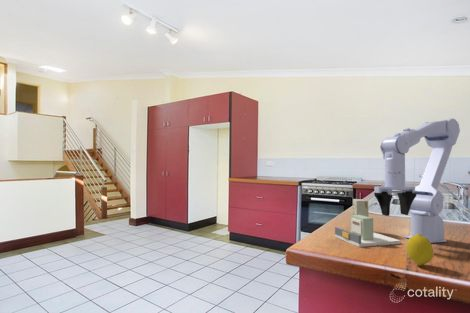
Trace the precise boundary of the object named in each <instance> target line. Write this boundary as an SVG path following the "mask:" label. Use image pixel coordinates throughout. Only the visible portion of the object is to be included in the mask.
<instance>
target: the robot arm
mask: <svg viewBox="0 0 470 313" xmlns="http://www.w3.org/2000/svg"><path fill="white" fill-rule="evenodd" d="M402 130H403V131H401V132H397V133H394V135H393V136H390V137H389V136H388V137H385V138H384V139H383V140H382V141H381V144H380V145H379V146H380V151H381V153H382V158H383V159H384V185H383V186H380V185H379V186H374V189H373V190H374V194H373V195H374V197H375V199H376V201H377V202H378V205H379V207H380V211H381V214H382V216H386V217H389V216H390V212H391V209H390V208H391V202H392V199H393V196H394V195H393V194H391V193H397V194H396V195H397V196H398V202H399V210H400V215H405V216H409V213H410V235H405V236H404V238H407V239H408V240H409V239H410V238H411V237H412V236H414V235H417V234H421V235H422V236H424V237H426V238H427V239H428V240H429V241H430V242H431V244H435V243H447V242H448V241H447V240H446V239H445V223H444V220H443V218H442V217H441V215H440V213H441V212H442V211H443V209H444V199H445V196H444V195H443V194H442V192H441V191H439V190H438V188H439V186H440V183H441V181H442V177H443V174H444V172H445V169H446V166H447V164H448V160H449V158H450V156H451V152H452V150H453V146H455V145H456V144H457V141H458V138H459V135H460V132H461V129H460V124H459V122H458V120H457V119H455V118H449V119H443V120H434V121H426V122H422V123H421V125H419V126H418V127H416V128H415V129H414V128H411V127H410V128H409V127H407V128H403V129H402ZM422 138H424V140H425V142H426V144H427V146H428V147H431V148H432V151H431V153H430V156H429V158H428V161H427V163H426V167H425V170H424V171H423V174H422V177H421V180H420V183H419V184H418V185H416V186H411V185H410V186H409V185H407V186H406V154H408V153H409V150H410V148H412V147H413V146H416V145H417V144H419V143H420V141H421V139H422Z"/></svg>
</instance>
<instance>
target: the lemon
mask: <svg viewBox="0 0 470 313" xmlns="http://www.w3.org/2000/svg"><path fill="white" fill-rule="evenodd" d="M432 244H433V243H431V242H430V241H429V240H428V239H427V238H426V237H424V236H422V235H421V234H417V235H414V236H412V237H411V238H410V239H409V238H408V240H407V243H406V253H407V256H408V257H409V259H410V260H412V261H413V262H414V263H415V264H416V265H418V267H419V266H420V267H422V266H423V265H425V264H428V263H430V262H431V261H432V259H433V257H434V247H433V245H432Z"/></svg>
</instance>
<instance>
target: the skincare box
mask: <svg viewBox="0 0 470 313" xmlns="http://www.w3.org/2000/svg"><path fill="white" fill-rule="evenodd" d="M352 215H362V216H366V217H369V201H368V200H366V199H362V198H361V199H359V198H353V199H352Z"/></svg>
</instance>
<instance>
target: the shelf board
mask: <svg viewBox="0 0 470 313" xmlns="http://www.w3.org/2000/svg"><path fill="white" fill-rule="evenodd" d="M334 238H337V239H339V240H342V241H343V242H346V243H348V244H351V245H353V246H355V247H358V248H362V247H376V246H377V245H378V246H388V245H390V244H391V245H401V240H399V239H397V238H394V237H391V236H387V235H383V234H381V233H378V232H375V231H373V240H361V236H360V235H358V234H355V233H352V232H351V231H348V230H346V229H344V228H341V227H337V226H335V227H334Z"/></svg>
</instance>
